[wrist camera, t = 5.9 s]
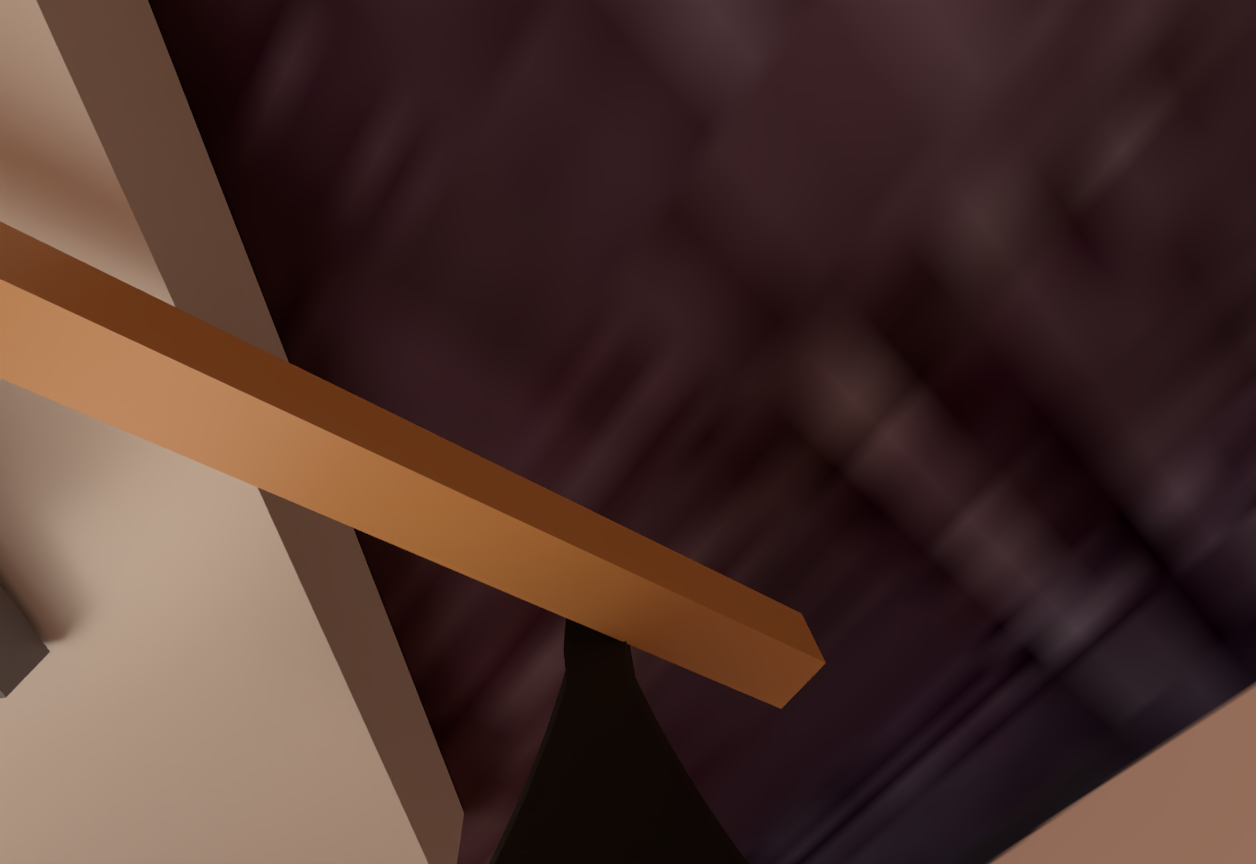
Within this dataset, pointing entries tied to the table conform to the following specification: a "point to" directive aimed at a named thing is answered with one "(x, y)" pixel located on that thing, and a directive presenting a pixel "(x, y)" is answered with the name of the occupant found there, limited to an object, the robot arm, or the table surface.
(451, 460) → the orange long bar
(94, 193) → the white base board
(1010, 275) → the table surface
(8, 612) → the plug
